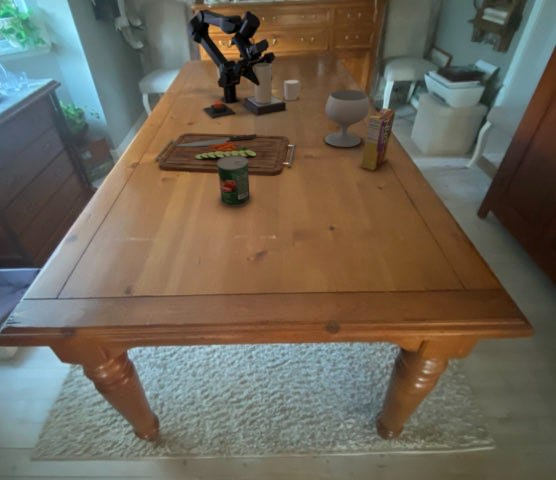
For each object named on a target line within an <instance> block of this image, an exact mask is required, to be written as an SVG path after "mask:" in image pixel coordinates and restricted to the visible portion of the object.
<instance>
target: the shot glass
mask: <svg viewBox="0 0 556 480" xmlns="http://www.w3.org/2000/svg"><path fill="white" fill-rule="evenodd" d="M283 88H284V89H283V90H284V100H286V101H296V100H298V96H299V88H300V80H298V79H285V80H284V81H283Z"/></svg>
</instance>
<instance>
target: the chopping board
mask: <svg viewBox="0 0 556 480" xmlns="http://www.w3.org/2000/svg"><path fill="white" fill-rule="evenodd" d="M169 146H170V147H169ZM295 147H296V143H295V142H294V143H292V144H290V139H289V138H288V136H284V135H264V134H263V135H262V134H256V133H254V134H237V133H235V134H234V133H233V134H232V133H203V132H202V133H201V132H200V133H199V132H187V133H182V134H180V135H179V136H177V138H176V140H174V139H173V138H171V139H170V140H169V141H168V143H166V145H165V146H164V147H163V148H162V149H161V150H160V152H159V153H158V154H157V156H156V157H155V158H154V161H155V162H156V161H158V163H157V164H158V167H159V169H160V170H163V171H172V172H173V171H174V172H175V171H176V172H192V173H193V172H195V173H210V174H211V173H212V174H213V173H214V174H219V173H218V165H217V162H218V160H219V159H221V158H223V157H225V156H230V155H239V156H243V157H245V158H247V160H248V175H251V176H277V175H280V174H282V173H283V171H284V166H285V165H287V167H288V168H291V167H292V162H293V157H294V152H295ZM289 148H291V150H290V155H289V160H288V162H286V157H287V153H288V149H289ZM166 150H167V151H166ZM165 151H166V152H165ZM164 152H165V153H164ZM163 153H164V154H163ZM162 155H163V156H162ZM161 156H162V157H161Z"/></svg>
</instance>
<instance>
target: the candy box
mask: <svg viewBox="0 0 556 480" xmlns="http://www.w3.org/2000/svg"><path fill="white" fill-rule="evenodd" d="M395 114H396V110H395V109H392V108H391V109H390V108H384V107H383V108H381V109H380V110H378V111H377V112H375V113H374V114H372V115H370V116H369V117H368V124H367V129H366V135H365V141H364V148H363V153H362V159H361V168H363V169H366V170H368V171H374V170H376V169H377V168H378V167H379V166H380V165H381V164H382V163H384V162H385V161H386V160H387V159H386V158H387V154H388V149H389V144H390V140H391V134H392V129H393V124H394V119H395Z"/></svg>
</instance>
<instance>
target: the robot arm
mask: <svg viewBox="0 0 556 480" xmlns="http://www.w3.org/2000/svg"><path fill="white" fill-rule="evenodd" d="M210 26H214V27H217V28H220V30H221V31H222V32H223V33H224V34H226V35H228V36H229V35H233V36H232V37H230V39H231V40H230V46H235V47H236V48H237V50H238V52H239V55H238V56H239V58H240V59H238V60H237V62H236V61H235V60H234V59H231V60H228V59H227V57H226V56H225V55H224V54H223V52H222V51H221V50H220V49H219V47H218V46H217V45H216V43H215V42H214V40H213V39H212V38H211V37H210V32H209V31H210V30H209V28H210ZM260 26H261V21H260V18H259V17H257V15H255V14H254V13H252V12H251V10H248V11H245V12H244V14H243V17H241V15H238V14H232V15H224V14H222V13H218V12H215V11H211V10H209V9H206V8H205V9H200V10H198V11H197V13H196V14H195V15H194V17H192V19H190V20H189V22H188V24H187V27H186V33H187V35H188V36H189V39H191V40H192V41H193V42H195V43H197V44H199V45H200V46H201V47H202V48H203V49H204V51H205V52H206V53H207V55H208V56H209V58H210V59H211V60H212V62H213V63H214V64H215V65H216V67H217V68H218V71H219V78H218V79H217V85H218V87H219V88H222V92H223V97H222V98H221V100H222V102H224V103H225V104H229V103H234V102H239V101H240V98H238V97H237V85H240V84H241V80H242V79H241V78H242V77H243V78H244V79H247V80H248V81H250V82H251V83H253V84H256V85H257V86H259V84H260V83H259V81H258V79H257V77H256V75H255V73H254V65H255V64H257V63H270V64H271V65H272V63H273V62H274V60H275V59H276V55H275V54H274V52H273V51H270V52H267V51H268V48H269V47H270V43H269V42H268V40H267V38H262V39H261V40H260V41H259V42H254V43H252V41H251V39H253V37H254V36H255V34H256V32H257V31H258V30H259V28H260ZM264 52H265V53H264ZM263 53H264V54H263ZM262 55H263V56H262Z"/></svg>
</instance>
